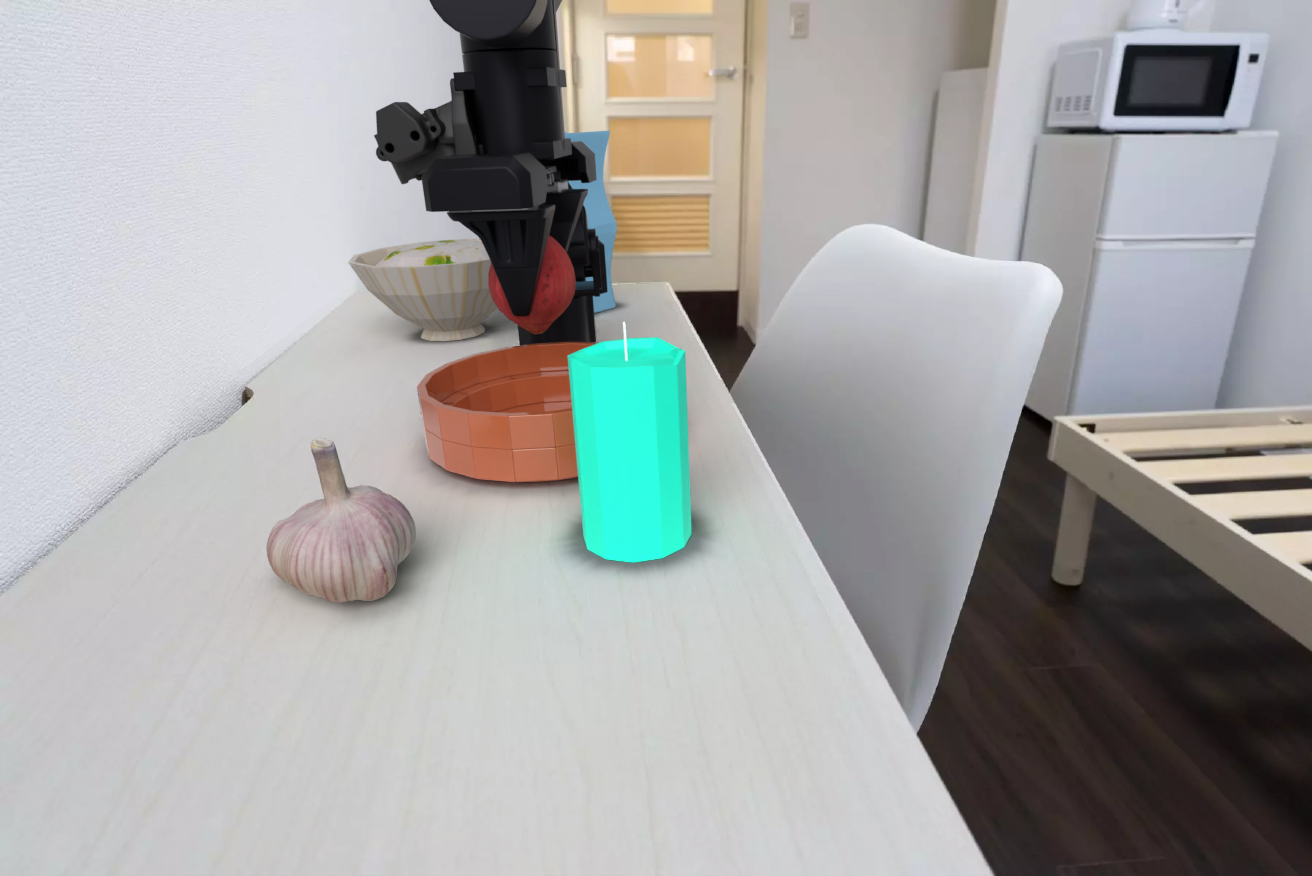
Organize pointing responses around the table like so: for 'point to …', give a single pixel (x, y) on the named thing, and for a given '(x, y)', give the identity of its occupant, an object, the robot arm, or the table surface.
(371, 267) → the bowl
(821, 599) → the table surface
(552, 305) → the onion
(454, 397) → the terracotta bowl
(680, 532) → the candle
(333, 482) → the garlic bulb
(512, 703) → the table surface
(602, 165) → the vase
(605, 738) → the table surface
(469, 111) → the robot arm
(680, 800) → the table surface
